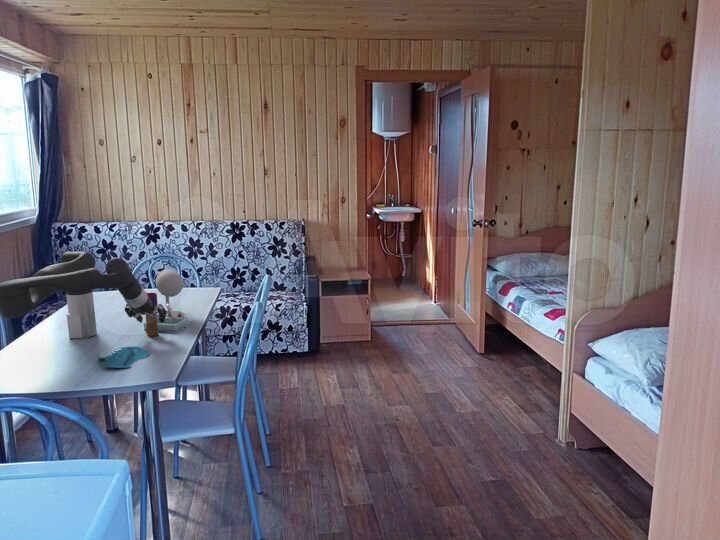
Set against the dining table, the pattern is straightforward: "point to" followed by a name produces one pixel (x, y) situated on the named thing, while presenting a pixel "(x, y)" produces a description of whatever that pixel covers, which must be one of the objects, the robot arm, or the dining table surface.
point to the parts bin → (170, 325)
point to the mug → (153, 298)
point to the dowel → (151, 326)
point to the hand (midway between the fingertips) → (152, 320)
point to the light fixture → (170, 289)
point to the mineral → (124, 357)
